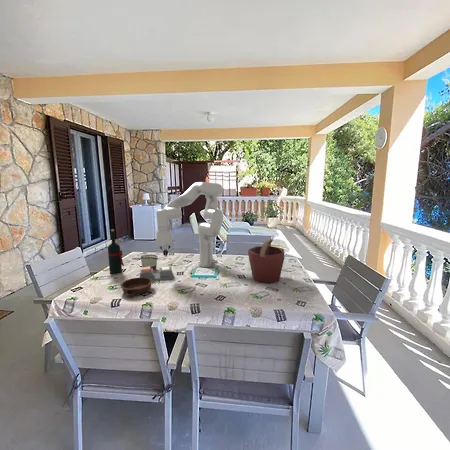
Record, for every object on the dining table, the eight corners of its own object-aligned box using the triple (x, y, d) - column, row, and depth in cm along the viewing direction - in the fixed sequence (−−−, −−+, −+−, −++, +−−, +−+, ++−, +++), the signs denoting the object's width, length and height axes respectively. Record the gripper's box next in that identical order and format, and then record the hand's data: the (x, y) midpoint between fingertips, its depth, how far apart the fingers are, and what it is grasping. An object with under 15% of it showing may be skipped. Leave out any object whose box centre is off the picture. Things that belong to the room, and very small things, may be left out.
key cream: (169, 271, 172) (169, 266, 171) (169, 273, 167) (169, 269, 167) (161, 271, 171) (161, 267, 170) (161, 274, 166) (161, 269, 165)
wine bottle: (121, 274, 173) (117, 230, 168) (107, 274, 174) (103, 230, 169) (127, 270, 181) (124, 228, 175) (113, 270, 182) (110, 228, 177)
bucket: (260, 270, 180) (261, 234, 176) (291, 276, 167) (292, 238, 163) (242, 281, 160) (242, 241, 156) (275, 289, 148) (276, 246, 143)
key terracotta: (150, 270, 168) (150, 266, 168) (150, 273, 164) (150, 268, 163) (142, 271, 167) (142, 267, 167) (142, 274, 162) (142, 269, 162)
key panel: (172, 273, 175) (172, 266, 174) (173, 278, 166) (173, 270, 165) (139, 276, 170) (139, 269, 169) (139, 281, 160) (138, 274, 159)
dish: (157, 283, 159) (156, 275, 158) (146, 299, 137) (146, 290, 136) (129, 283, 159) (128, 275, 158) (114, 299, 137) (113, 290, 136)
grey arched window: (160, 267, 186) (160, 254, 185) (157, 270, 180) (157, 256, 179) (144, 267, 188) (143, 254, 186) (140, 270, 182) (140, 256, 180)
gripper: (175, 226, 169) (176, 253, 173) (151, 228, 166) (153, 255, 169) (176, 228, 162) (178, 256, 166) (151, 230, 158) (153, 259, 162)
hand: (165, 256), depth 167 cm, fingers closed
